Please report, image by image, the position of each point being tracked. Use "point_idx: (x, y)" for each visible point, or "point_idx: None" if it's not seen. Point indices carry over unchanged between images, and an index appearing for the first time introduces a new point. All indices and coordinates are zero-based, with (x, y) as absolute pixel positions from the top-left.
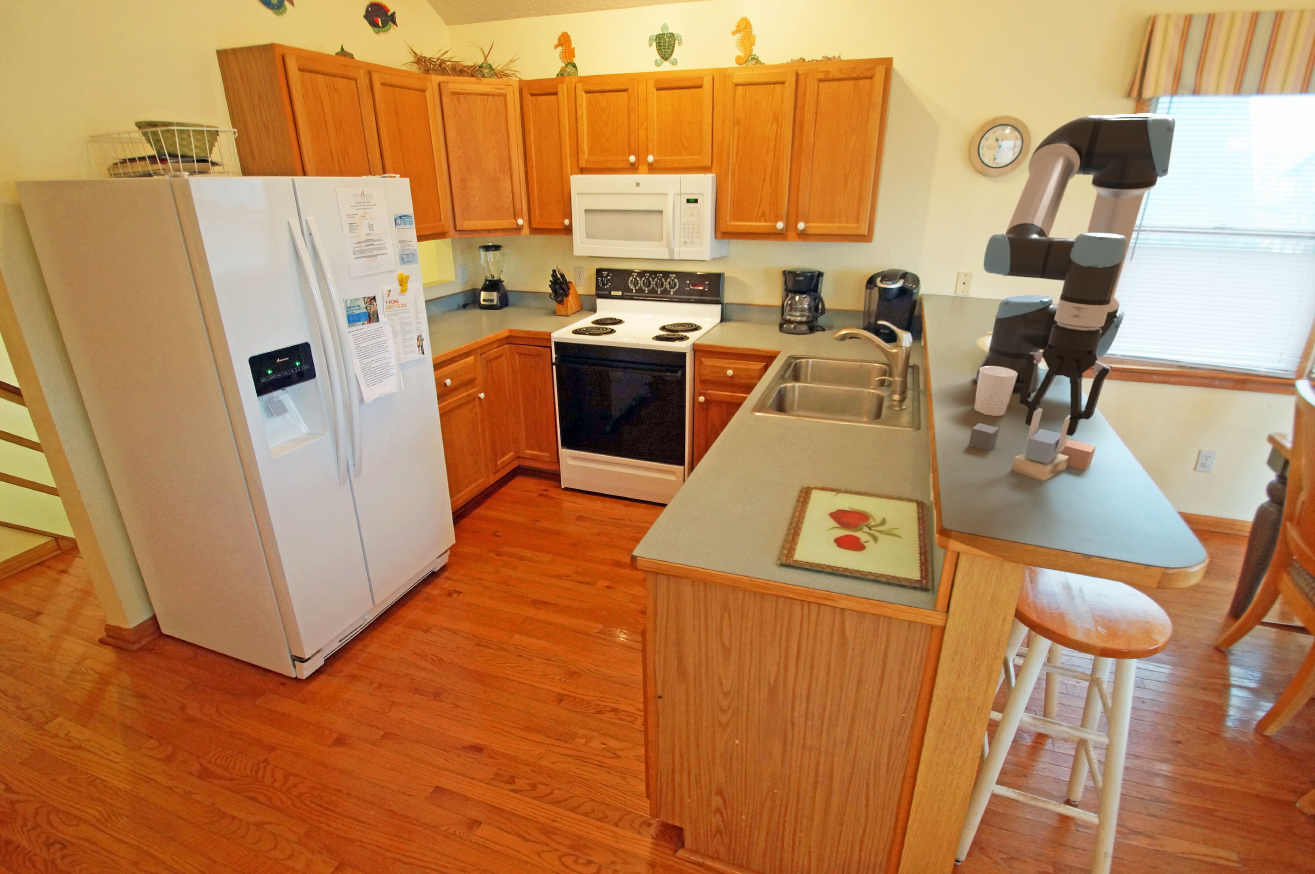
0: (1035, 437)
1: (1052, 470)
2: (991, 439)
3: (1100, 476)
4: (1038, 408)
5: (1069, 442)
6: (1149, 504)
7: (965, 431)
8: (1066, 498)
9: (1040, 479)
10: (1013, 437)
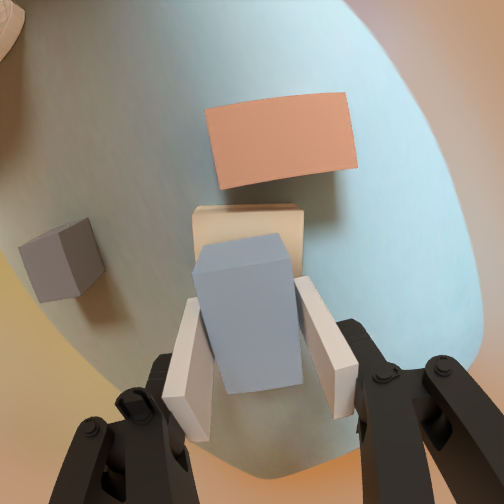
0: (235, 376)
1: None
2: (89, 284)
3: (371, 175)
4: (168, 404)
5: (269, 133)
6: (458, 241)
7: (13, 203)
8: None
9: None
10: (84, 113)
